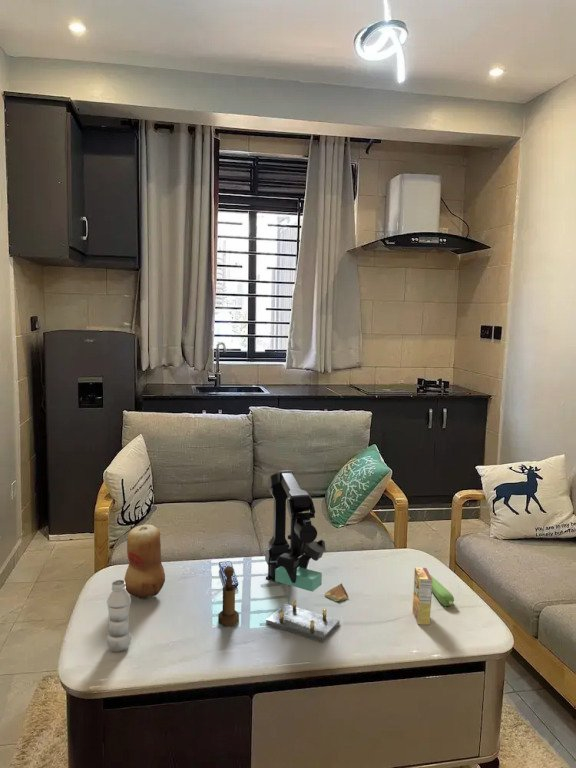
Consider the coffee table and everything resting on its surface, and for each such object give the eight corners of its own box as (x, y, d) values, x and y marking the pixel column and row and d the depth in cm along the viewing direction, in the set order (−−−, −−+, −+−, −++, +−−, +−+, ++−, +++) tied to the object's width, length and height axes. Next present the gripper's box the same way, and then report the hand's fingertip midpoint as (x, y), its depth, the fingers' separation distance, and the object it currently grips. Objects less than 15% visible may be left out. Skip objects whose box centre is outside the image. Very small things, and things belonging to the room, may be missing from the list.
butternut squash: (116, 601, 193) (115, 530, 190) (140, 584, 205) (139, 517, 202) (150, 609, 187) (149, 536, 185) (173, 592, 200) (172, 523, 197)
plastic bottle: (109, 642, 168) (109, 577, 166) (133, 641, 168) (132, 577, 166) (104, 655, 161) (103, 588, 159) (129, 654, 162) (128, 587, 160)
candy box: (411, 610, 190) (413, 567, 188) (424, 611, 190) (426, 567, 188) (417, 624, 181) (419, 579, 179) (430, 625, 181) (433, 579, 179)
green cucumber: (441, 598, 191) (454, 593, 191) (420, 573, 210) (432, 569, 211) (445, 612, 191) (457, 607, 192) (423, 586, 211) (435, 582, 211)
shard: (341, 586, 207) (341, 582, 207) (358, 593, 202) (359, 588, 202) (323, 597, 199) (323, 592, 199) (341, 604, 194) (341, 599, 194)
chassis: (266, 623, 180) (266, 610, 179) (285, 607, 190) (285, 595, 190) (322, 642, 170) (322, 628, 170) (339, 624, 180) (339, 611, 180)
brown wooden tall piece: (242, 618, 183) (242, 564, 181) (233, 628, 177) (234, 573, 175) (223, 614, 185) (223, 561, 183) (214, 624, 179) (214, 569, 177)
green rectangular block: (275, 581, 186) (275, 569, 186) (284, 574, 191) (285, 563, 191) (312, 591, 179) (312, 579, 178) (321, 584, 184) (321, 572, 183)
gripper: (307, 546, 171) (306, 596, 173) (334, 528, 187) (333, 574, 189) (275, 539, 177) (275, 587, 178) (304, 522, 193) (303, 567, 194)
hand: (298, 579), depth 185 cm, fingers closed on green rectangular block, 6 cm apart
